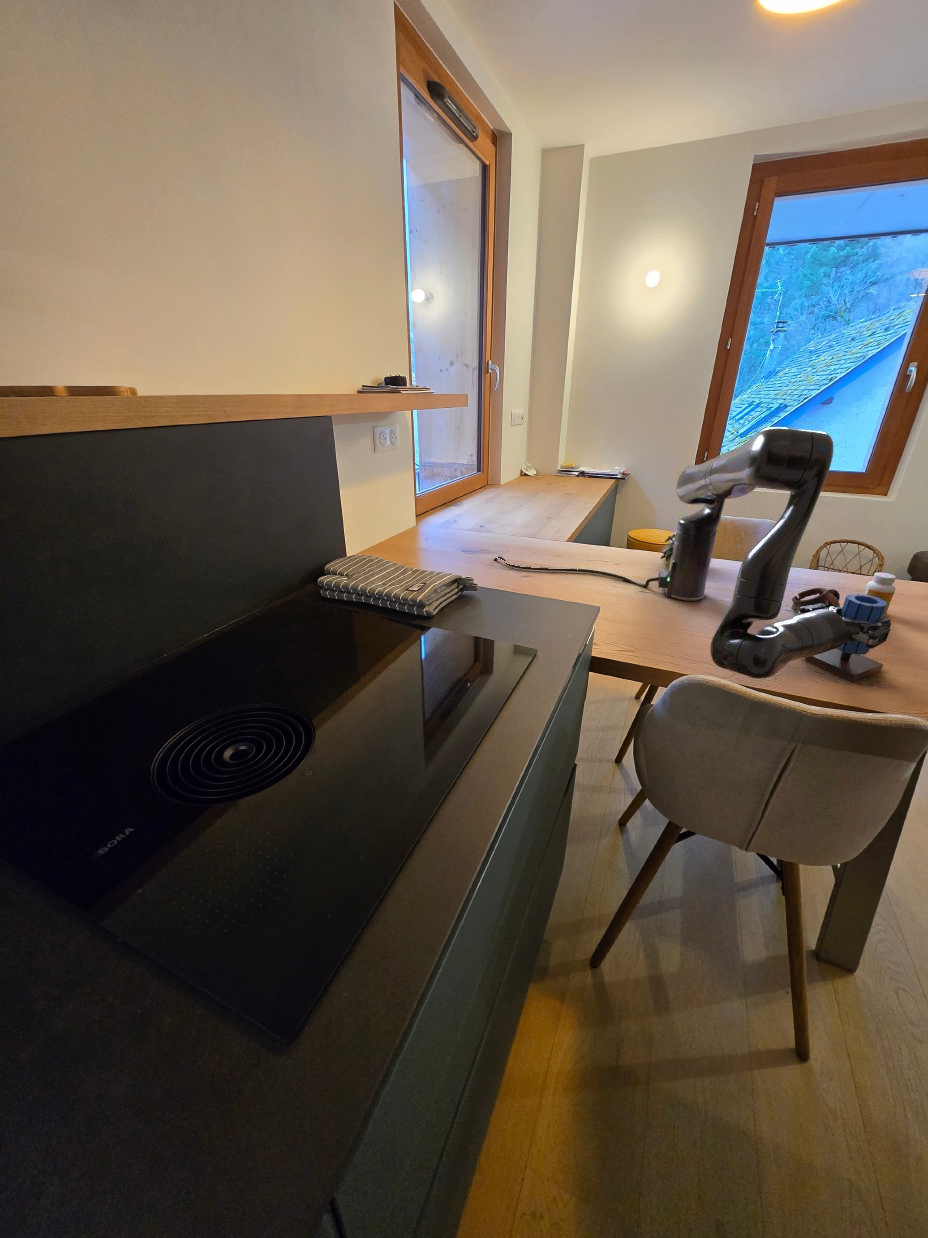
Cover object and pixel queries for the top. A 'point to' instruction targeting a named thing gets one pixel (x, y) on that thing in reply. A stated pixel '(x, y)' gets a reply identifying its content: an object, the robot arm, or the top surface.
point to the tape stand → (845, 664)
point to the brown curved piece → (817, 598)
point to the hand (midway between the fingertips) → (867, 616)
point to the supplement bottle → (881, 587)
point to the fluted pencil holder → (861, 617)
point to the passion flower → (668, 550)
